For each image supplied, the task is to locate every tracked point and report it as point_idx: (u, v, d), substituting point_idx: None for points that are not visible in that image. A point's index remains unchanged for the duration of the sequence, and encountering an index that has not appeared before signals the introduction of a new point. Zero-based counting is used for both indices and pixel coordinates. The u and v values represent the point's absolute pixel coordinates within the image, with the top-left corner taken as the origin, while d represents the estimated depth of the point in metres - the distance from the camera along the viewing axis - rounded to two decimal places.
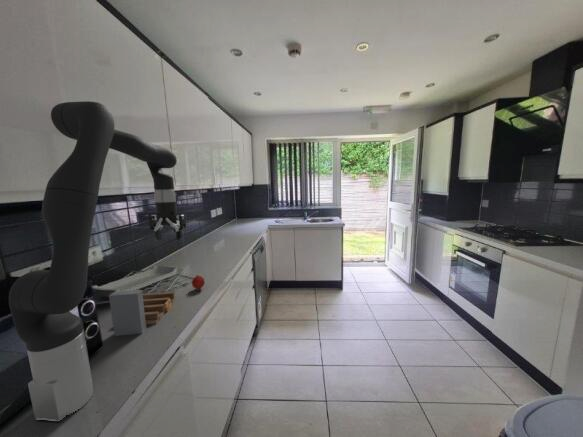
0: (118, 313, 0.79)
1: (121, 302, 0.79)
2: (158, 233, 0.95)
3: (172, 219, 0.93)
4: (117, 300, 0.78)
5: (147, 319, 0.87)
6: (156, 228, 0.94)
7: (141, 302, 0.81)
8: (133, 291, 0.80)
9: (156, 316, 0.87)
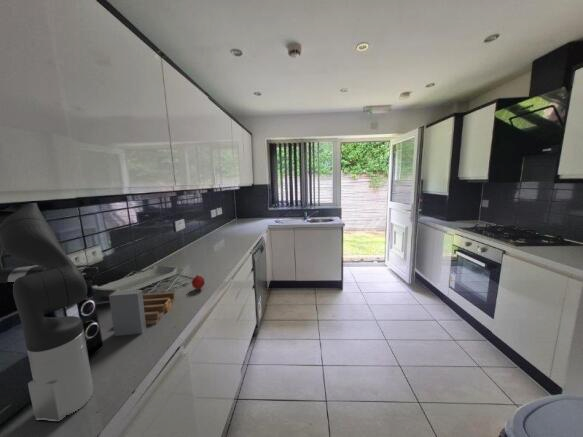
0: (118, 313, 0.79)
1: (121, 302, 0.79)
2: None
3: None
4: (117, 300, 0.78)
5: (147, 319, 0.87)
6: None
7: (141, 302, 0.81)
8: (133, 291, 0.80)
9: (156, 316, 0.87)
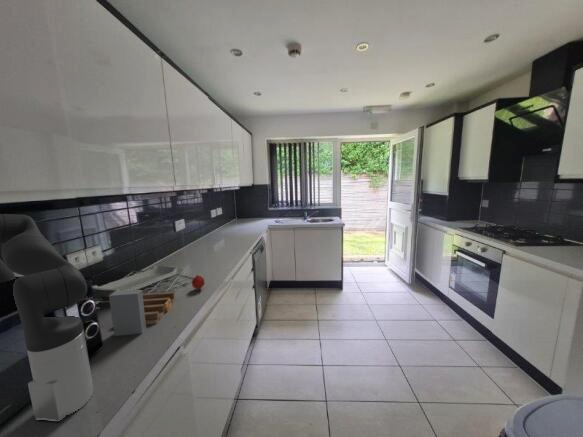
0: (118, 313, 0.79)
1: (121, 302, 0.79)
2: None
3: None
4: (117, 300, 0.78)
5: (147, 319, 0.87)
6: None
7: (141, 302, 0.81)
8: (133, 291, 0.80)
9: (156, 316, 0.87)
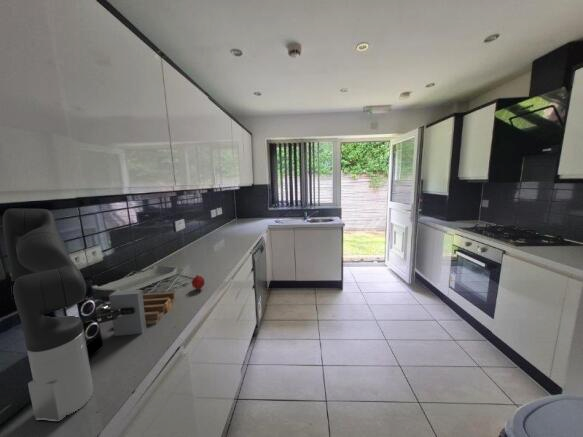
0: None
1: (121, 302, 0.79)
2: None
3: None
4: (117, 300, 0.78)
5: (147, 319, 0.87)
6: (118, 308, 0.78)
7: (141, 302, 0.81)
8: (133, 291, 0.80)
9: (156, 316, 0.87)
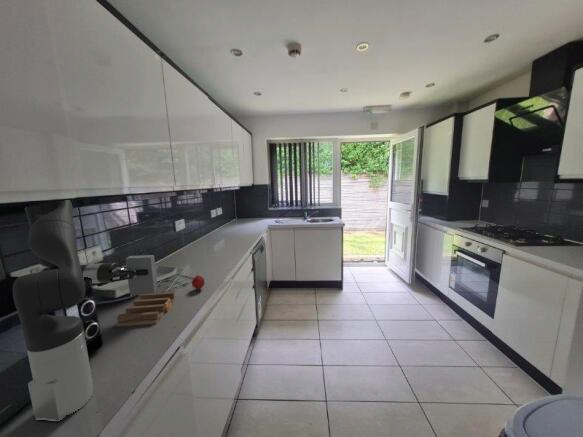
0: None
1: (136, 264, 0.89)
2: None
3: None
4: (132, 262, 0.89)
5: (147, 319, 0.87)
6: None
7: (153, 265, 0.92)
8: (146, 255, 0.91)
9: (156, 316, 0.87)
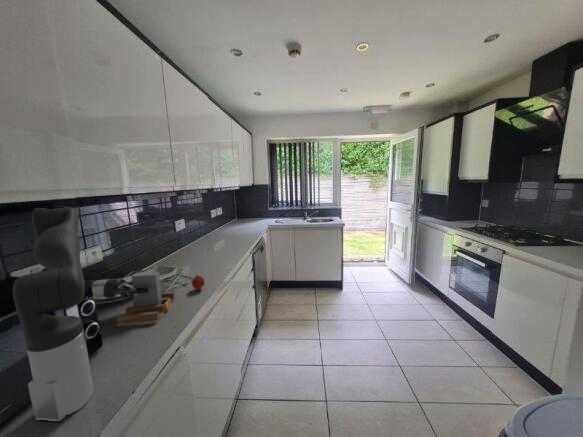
0: None
1: (142, 282, 0.92)
2: None
3: None
4: (138, 280, 0.92)
5: (147, 319, 0.87)
6: (134, 288, 0.90)
7: (158, 283, 0.95)
8: (151, 273, 0.94)
9: (156, 316, 0.87)
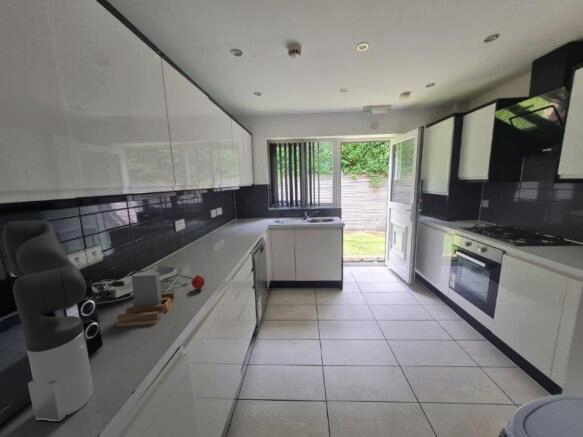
0: (139, 291, 0.92)
1: (142, 282, 0.92)
2: None
3: None
4: (138, 280, 0.92)
5: (147, 319, 0.87)
6: (96, 290, 0.88)
7: (158, 283, 0.95)
8: (151, 273, 0.94)
9: (156, 316, 0.87)
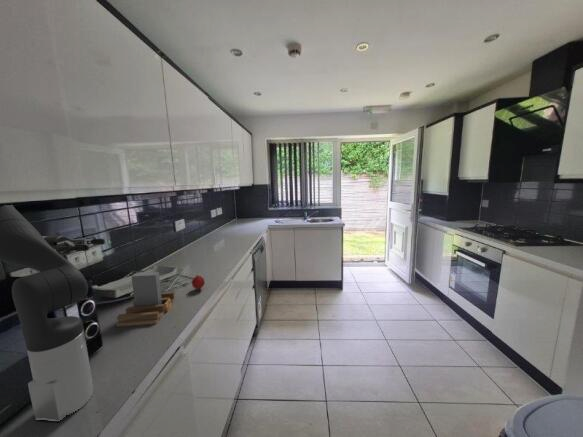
0: (139, 291, 0.92)
1: (142, 282, 0.92)
2: None
3: None
4: (138, 280, 0.92)
5: (147, 319, 0.87)
6: (72, 244, 0.82)
7: (158, 283, 0.95)
8: (151, 273, 0.94)
9: (156, 316, 0.87)
